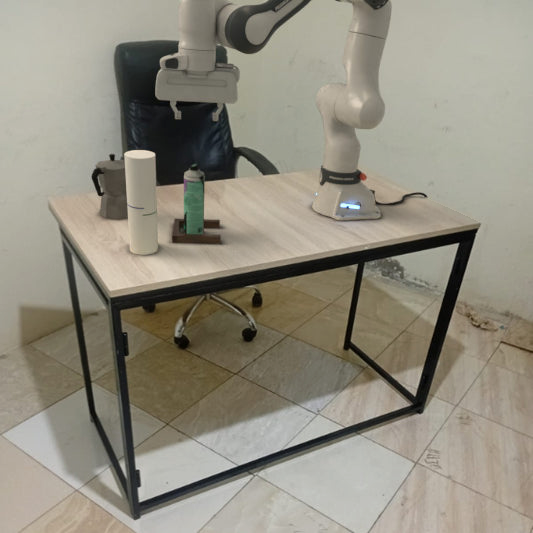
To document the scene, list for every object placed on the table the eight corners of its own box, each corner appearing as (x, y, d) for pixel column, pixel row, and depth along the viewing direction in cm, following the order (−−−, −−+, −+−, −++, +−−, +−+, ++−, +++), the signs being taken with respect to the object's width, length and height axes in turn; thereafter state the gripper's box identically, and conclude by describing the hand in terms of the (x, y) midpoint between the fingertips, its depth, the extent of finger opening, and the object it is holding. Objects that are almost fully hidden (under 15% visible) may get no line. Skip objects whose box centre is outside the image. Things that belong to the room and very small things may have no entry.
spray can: (205, 231, 144) (206, 162, 134) (201, 239, 139) (202, 168, 129) (186, 229, 144) (186, 160, 135) (181, 236, 139) (181, 166, 130)
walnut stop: (219, 225, 148) (219, 219, 147) (220, 243, 137) (220, 237, 136) (174, 224, 146) (174, 218, 145) (172, 242, 136) (172, 235, 135)
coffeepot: (116, 203, 157) (112, 146, 148) (142, 209, 154) (140, 151, 145) (83, 220, 144) (76, 158, 135) (110, 227, 141) (105, 164, 133)
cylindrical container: (132, 242, 134) (126, 149, 122) (159, 243, 135) (156, 150, 123) (127, 254, 128) (122, 157, 116) (156, 255, 128) (153, 159, 117)
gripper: (239, 62, 126) (236, 118, 132) (155, 57, 123) (157, 115, 130) (240, 65, 120) (238, 124, 127) (153, 60, 117) (155, 120, 124)
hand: (196, 119), depth 128 cm, fingers open, 8 cm apart
